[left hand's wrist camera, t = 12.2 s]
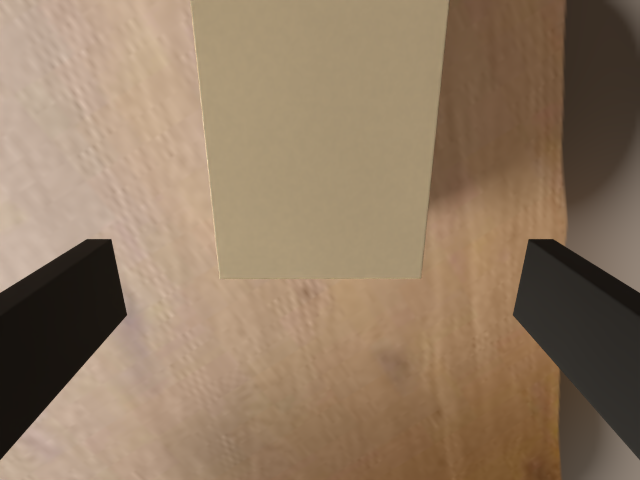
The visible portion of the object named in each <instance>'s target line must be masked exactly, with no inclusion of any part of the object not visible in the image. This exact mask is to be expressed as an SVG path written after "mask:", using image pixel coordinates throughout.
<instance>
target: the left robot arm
mask: <svg viewBox="0 0 640 480" xmlns="http://www.w3.org/2000/svg"><path fill="white" fill-rule="evenodd" d="M126 316H127V313H126V308H125V303H124V298H123V293H122V288H121V284H120V279H119V274H118V269H117V264H116V260H115V255H114V250H113V245H112V240H111V239H87V240H85V241H83V242H82V243H80V244H78V245H77V246H75V247H74V248H72V249H70V250H69V251H67V252H66V253H64V254H62V255H61V256H59V257H58V258H56V259H54V260H53V261H51V262H49V263H48V264H46V265H45V266H43V267H41V268H40V269H38V270H37V271H35V272H33V273H32V274H30V275H28V276H27V277H25V278H24V279H22V280H20V281H19V282H17V283H16V284H14V285H12V286H11V287H9V288H8V289H6V290H4V291H3V292H1V293H0V460H1V458H2V457H3V456H4V455H5V454H6V453H7V452H8V450H9V449H10V448H11V447H12V446H13V445H14V444H15V442H16V441H17V440H18V439H19V438H20V437H21V436H22V434H23V433H24V432H25V431H26V430H27V429H28V428H29V426H30V425H31V424H32V423H33V422H34V421H35V420H36V418H37V417H38V416H39V415H40V414H41V413H42V412H43V410H44V409H45V408H46V407H47V406H48V405H49V404H50V402H51V401H52V400H53V399H54V398H55V397H56V396H57V394H58V393H59V392H60V391H61V390H62V389H63V388H64V387H65V385H66V384H67V383H68V382H69V381H70V380H71V379H72V377H73V376H74V375H75V374H76V373H77V372H78V371H79V369H80V368H81V367H82V366H83V365H84V364H85V363H86V361H87V360H88V359H89V358H90V357H91V356H92V355H93V353H94V352H95V351H96V350H97V349H98V348H99V347H100V345H101V344H102V343H103V342H104V341H105V340H106V339H107V337H108V336H109V335H110V334H111V333H112V332H113V331H114V329H115V328H116V327H117V326H118V325H119V324H120V323H121V321H122V320H123V319H124V318H125V317H126ZM513 316H514V317H515V318H516V319H517V320H518V321H519V323H520V324H521V325H522V326H523V327H524V328H525V329H526V331H527V332H528V333H529V334H530V335H531V336H532V337H533V339H534V340H535V341H536V342H537V343H538V344H539V345H540V347H541V348H542V349H543V350H544V351H545V352H546V353H547V355H548V356H549V357H550V358H551V359H552V360H553V361H554V363H555V364H556V365H557V366H558V367H559V368H560V369H561V371H562V372H563V373H564V374H565V375H566V376H567V377H568V379H569V380H570V381H571V382H572V383H573V384H574V385H575V387H576V388H577V389H578V390H579V391H580V392H581V393H582V395H583V396H584V397H585V398H586V399H587V400H588V401H589V402H590V404H591V405H592V406H593V407H594V408H595V409H596V410H597V412H598V413H599V414H600V415H601V416H602V417H603V418H604V420H605V421H606V422H607V423H608V424H609V425H610V426H611V428H612V429H613V430H614V431H615V432H616V433H617V434H618V436H619V437H620V438H621V439H622V440H623V441H624V442H625V444H626V445H627V446H628V447H629V448H630V449H631V450H632V452H633V453H634V454H635V455H636V456H637V457H638V458H639V460H640V293H639V292H637V291H636V290H634V289H632V288H631V287H629V286H628V285H626V284H624V283H623V282H621V281H620V280H618V279H616V278H615V277H613V276H612V275H610V274H608V273H607V272H605V271H603V270H602V269H600V268H599V267H597V266H595V265H594V264H592V263H590V262H589V261H587V260H586V259H584V258H582V257H581V256H579V255H578V254H576V253H574V252H573V251H571V250H570V249H568V248H566V247H565V246H563V245H562V244H560V243H558V242H557V241H555V240H553V239H529V240H528V245H527V250H526V255H525V260H524V264H523V269H522V274H521V279H520V284H519V288H518V293H517V298H516V303H515V308H514V313H513Z"/></svg>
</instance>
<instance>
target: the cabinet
mask: <svg viewBox="0 0 640 480" xmlns="http://www.w3.org/2000/svg"><path fill="white" fill-rule="evenodd" d="M449 2H450V0H190V3H191V13H192V22H193V32H194V41H195V51H196V60H197V70H198V79H199V89H200V98H201V108H202V117H203V127H204V136H205V146H206V155H207V165H208V174H209V183H210V193H211V202H212V212H213V221H214V231H215V240H216V250H217V259H218V269H219V278H220V279H421V275H422V265H423V255H424V245H425V236H426V226H427V216H428V206H429V197H430V187H431V177H432V167H433V158H434V148H435V138H436V128H437V119H438V109H439V99H440V89H441V80H442V70H443V60H444V50H445V41H446V31H447V21H448V11H449Z"/></svg>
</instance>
